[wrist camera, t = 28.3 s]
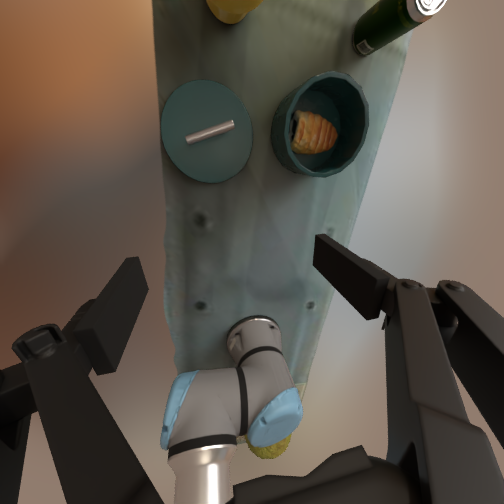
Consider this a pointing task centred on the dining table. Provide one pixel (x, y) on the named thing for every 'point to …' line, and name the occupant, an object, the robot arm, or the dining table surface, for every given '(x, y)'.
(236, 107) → the lid
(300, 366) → the dining table surface
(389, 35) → the beer can
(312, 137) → the pastry
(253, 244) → the dining table surface
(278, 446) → the fruit
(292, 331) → the dining table surface
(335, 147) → the pot
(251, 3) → the flower pot
